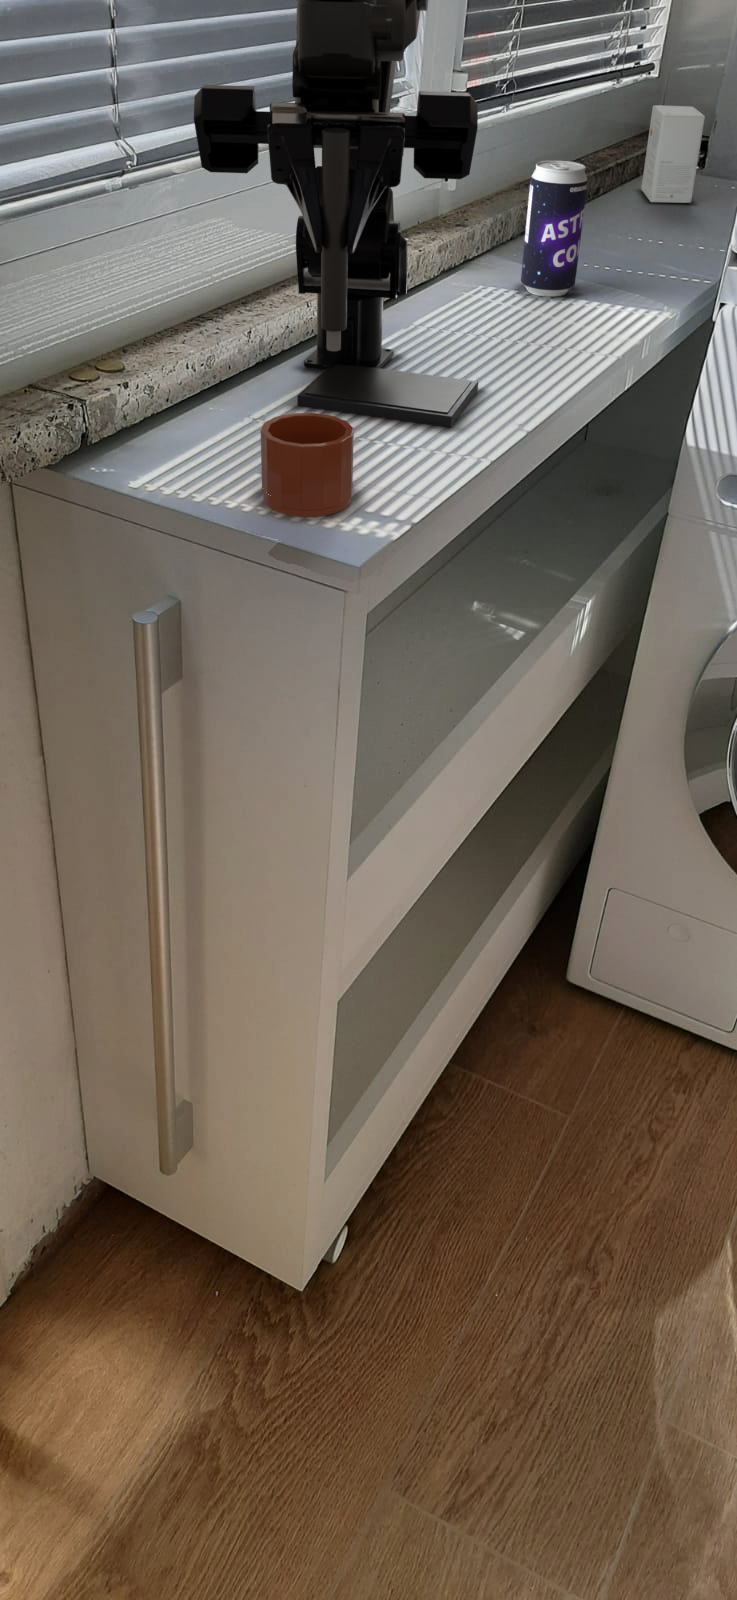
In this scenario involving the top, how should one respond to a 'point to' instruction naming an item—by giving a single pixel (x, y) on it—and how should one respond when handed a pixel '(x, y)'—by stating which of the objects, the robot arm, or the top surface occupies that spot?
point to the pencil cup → (307, 464)
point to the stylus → (334, 233)
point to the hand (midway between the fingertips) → (334, 249)
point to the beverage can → (553, 227)
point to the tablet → (389, 394)
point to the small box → (672, 153)
